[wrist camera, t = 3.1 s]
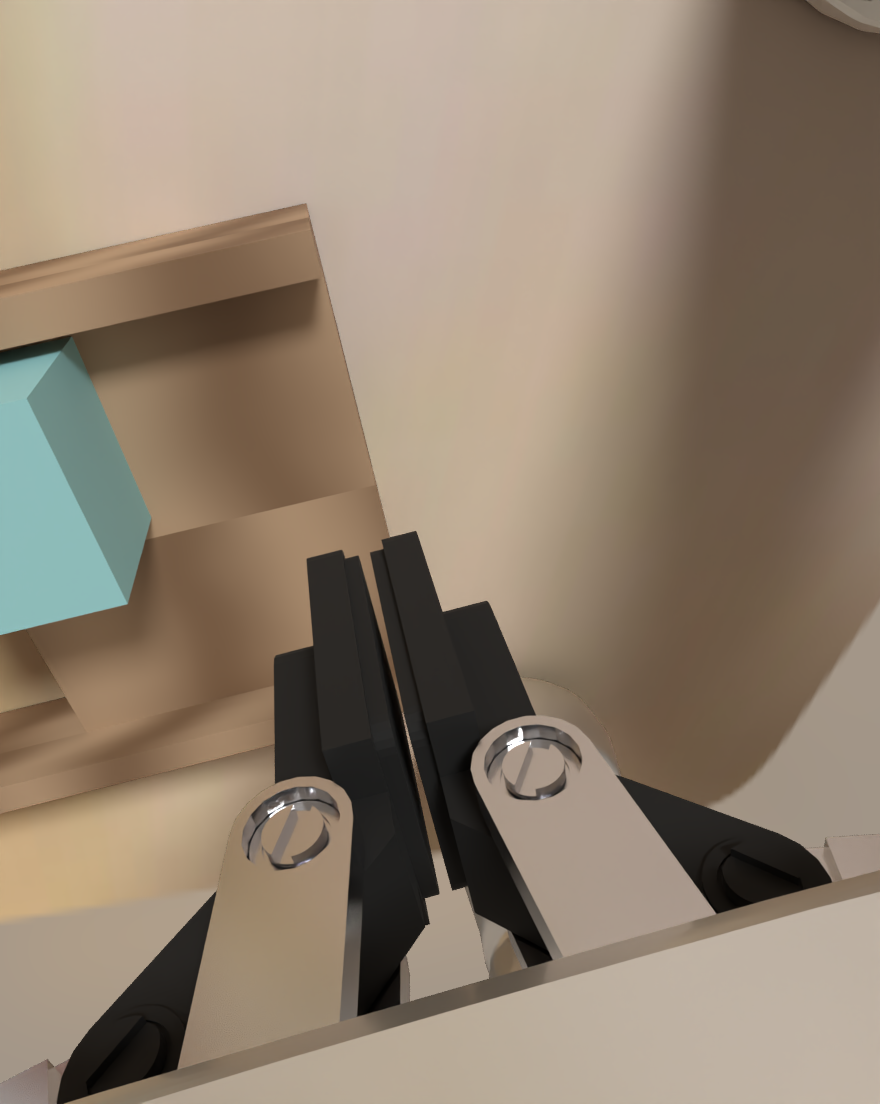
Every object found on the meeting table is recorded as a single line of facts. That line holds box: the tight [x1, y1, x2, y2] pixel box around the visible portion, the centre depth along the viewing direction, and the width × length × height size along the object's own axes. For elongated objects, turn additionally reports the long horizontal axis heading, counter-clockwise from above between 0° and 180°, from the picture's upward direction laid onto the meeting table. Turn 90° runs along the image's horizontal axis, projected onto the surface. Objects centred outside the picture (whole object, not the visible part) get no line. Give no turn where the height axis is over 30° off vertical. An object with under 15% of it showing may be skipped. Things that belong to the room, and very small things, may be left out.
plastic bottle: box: [465, 678, 621, 979], centre depth 22 cm, size 6×7×20 cm
